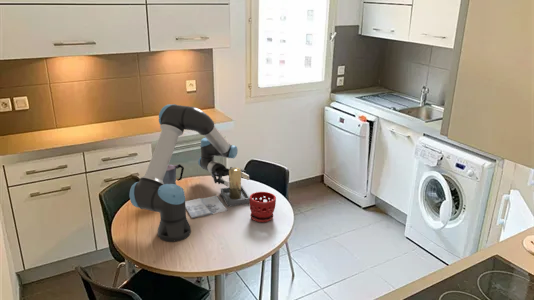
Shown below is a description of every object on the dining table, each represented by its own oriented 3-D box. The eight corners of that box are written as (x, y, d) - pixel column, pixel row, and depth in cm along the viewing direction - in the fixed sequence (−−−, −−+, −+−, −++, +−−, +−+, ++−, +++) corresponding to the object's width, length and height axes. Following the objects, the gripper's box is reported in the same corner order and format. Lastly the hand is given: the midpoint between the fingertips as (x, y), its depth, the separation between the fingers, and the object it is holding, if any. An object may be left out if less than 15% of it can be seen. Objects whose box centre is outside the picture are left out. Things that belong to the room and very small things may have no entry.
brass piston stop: (242, 198, 232) (242, 171, 226) (231, 199, 229) (230, 172, 224) (239, 193, 237) (238, 166, 232) (228, 194, 235) (227, 168, 230)
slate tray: (250, 203, 228) (250, 198, 227) (228, 206, 224) (228, 201, 223) (242, 190, 243) (242, 185, 242) (220, 193, 239) (220, 188, 238)
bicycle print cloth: (181, 203, 228) (181, 200, 227) (217, 197, 236) (217, 193, 235) (191, 220, 212) (191, 216, 211) (229, 212, 220) (229, 208, 219)
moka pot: (155, 194, 236) (152, 161, 229) (183, 189, 243) (181, 157, 236) (159, 201, 228) (156, 167, 221) (187, 196, 235) (185, 163, 228)
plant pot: (272, 225, 207) (273, 203, 202) (246, 222, 209) (246, 201, 205) (277, 213, 219) (278, 192, 214) (252, 210, 221) (252, 189, 217)
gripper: (234, 169, 251) (256, 181, 236) (198, 180, 236) (219, 193, 221) (234, 157, 249) (256, 169, 234) (197, 168, 234) (218, 180, 219)
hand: (238, 181), depth 227 cm, fingers open, 13 cm apart
